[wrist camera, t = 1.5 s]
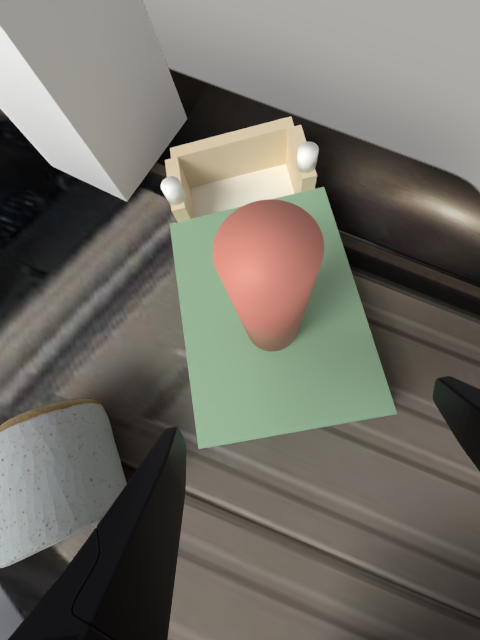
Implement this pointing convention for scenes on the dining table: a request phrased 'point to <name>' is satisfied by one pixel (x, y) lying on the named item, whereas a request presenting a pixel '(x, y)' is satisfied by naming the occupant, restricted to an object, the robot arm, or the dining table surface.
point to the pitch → (284, 365)
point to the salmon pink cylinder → (269, 268)
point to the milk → (89, 87)
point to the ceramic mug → (55, 475)
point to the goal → (239, 169)
